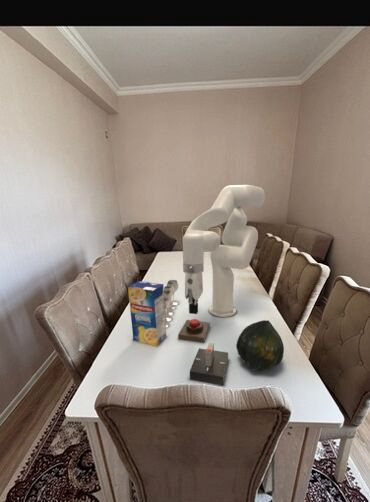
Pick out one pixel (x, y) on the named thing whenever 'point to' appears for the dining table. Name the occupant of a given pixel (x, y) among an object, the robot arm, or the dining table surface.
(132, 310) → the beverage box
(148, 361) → the dining table surface
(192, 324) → the power button
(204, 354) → the control panel
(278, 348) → the squash
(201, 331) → the switch block
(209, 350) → the brew dial
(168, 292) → the goblet set
